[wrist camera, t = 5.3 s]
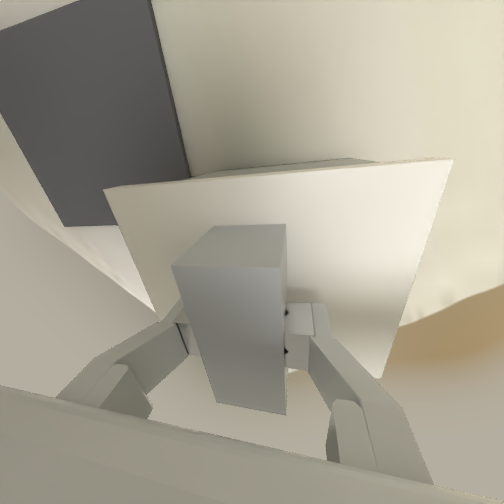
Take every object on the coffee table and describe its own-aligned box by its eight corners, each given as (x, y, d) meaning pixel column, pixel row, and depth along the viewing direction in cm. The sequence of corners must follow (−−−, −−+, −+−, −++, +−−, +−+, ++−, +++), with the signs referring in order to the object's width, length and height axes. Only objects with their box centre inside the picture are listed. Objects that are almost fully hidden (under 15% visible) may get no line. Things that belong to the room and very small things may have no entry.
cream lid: (189, 323, 15) (139, 404, 10) (141, 181, 10) (6, 209, 6) (366, 340, 12) (411, 462, 8) (411, 156, 8) (612, 167, 3)
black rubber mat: (68, 225, 27) (64, 226, 26) (-30, 47, 19) (-38, 45, 18) (200, 220, 22) (198, 222, 22) (146, -19, 14) (141, -24, 14)
